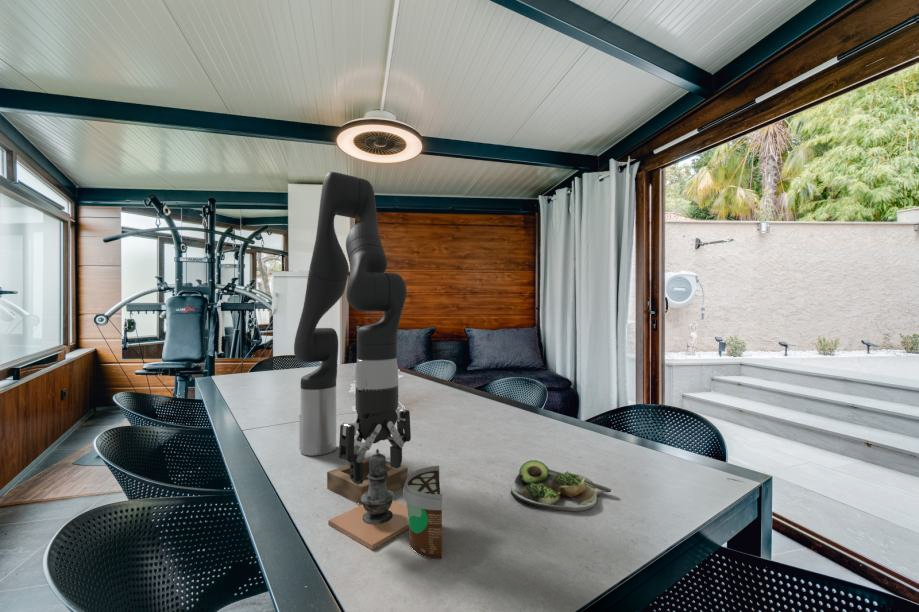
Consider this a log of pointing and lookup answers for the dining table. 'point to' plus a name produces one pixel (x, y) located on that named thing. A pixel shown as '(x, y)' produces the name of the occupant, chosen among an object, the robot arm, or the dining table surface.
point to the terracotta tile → (369, 533)
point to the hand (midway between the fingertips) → (377, 474)
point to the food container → (424, 511)
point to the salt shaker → (377, 492)
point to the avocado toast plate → (553, 488)
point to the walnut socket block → (344, 485)
